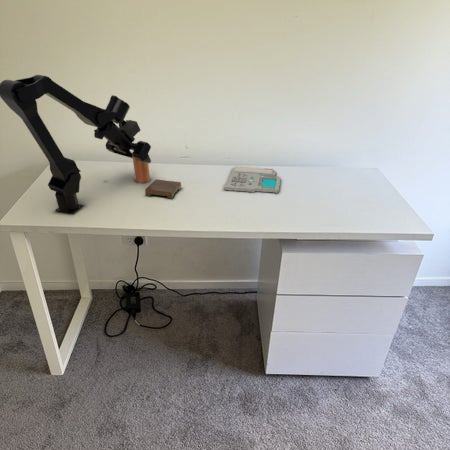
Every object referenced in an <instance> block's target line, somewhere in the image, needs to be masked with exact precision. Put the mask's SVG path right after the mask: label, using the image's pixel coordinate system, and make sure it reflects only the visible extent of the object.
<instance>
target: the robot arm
mask: <svg viewBox="0 0 450 450" xmlns="http://www.w3.org/2000/svg"><path fill="white" fill-rule="evenodd" d="M45 95H46V96H47V97H49V98H50V99H52V100H54V101H55V102H57V103H59V104H61V105H62V106H64V107H65V108H67V109H68V110H70V111H71V112H73V113H74V114H75V115H76V117H77V118H78V119H79V120H80V121H81V122H83V123H84V124H85V125H87V126H89V127H90V126H91V127H93V128H94V127H95V128H96V129H94V130H93V132H94V134H93V135H94V136H93V137H94V138H96V139H99V140H103V139H104V138H105V140H107V141H106V143H105V149H106V150H107V151H108V152H111V153H113V154H117V155H120V156H123V157H127V158H129V159H133V157H134V158H136V159H137V160H139V161H143V162H146V163H149V164H151V163H152V159H151V157H150V154H149V153H150V151H151V148H152V146H151V144H150V143H149V142H147V141H143V140H138V141H137V142H135V141H136V138H135V137H136V135H138V133H140V132H141V127H140V126H139V122H138V121H136V120H132V119H129V120H128V119H126V120H125V118H126V117H127V114H128V112H129V110H130V109H131V106H130V104H129V103H127V101H124V100H123V99H121V98H119V96H117V95H113V94H111V96H110V98H109V101H108V104H107V105H106V108H102V107H99V106H96V105H94V104H91V103H89V102H86V101H84V100H83V99H81V98H79V97H78V96H77V95H74V94H73V93H72V92H70V91H69V90H67V89H65V88H64V87H63V86H62V85H60V84H59V83H57V82H55V81H54V80H52V78H51V77H49V76H47V75H43V74H35V75H33V76H30V77H25V78H24V77H23V78H20V79H15V80H12V79H4V80H2V81H1V82H0V99H1V100H2V101H3V102H4V103H5V104H6V105H7V107H8V108H9V109H10V110H11V111H12V112H14V114H16V115H17V116H18V117H19V118H20V119H21V120H22V122H23V123H24V126H26V128H27V130H28V131H29V132H30V135H31V136H32V138H33V139H34V140H35V142H36V144H37V145H38V147H39V148H40V150H41V152H42V153H43V155H44V156H45V158H46V160H47V161H48V163H49V171H50V173H51V177H50V179H49V182H48V183H47V187H48V188H49V190H50V191H52V192H55V193H54V195H55V199H56V203H57V208H55V209H54V211H55V213H62V214H68V215H69V214H70V215H73V214H75V213H76V212H77V211H78V210H80V209H82V208H83V206H84V205H83V204H80V203H79V199H78V195H77V194H78V193H79V192H80V185H81V180H82V175H81V170H80V168H78V165H77V163H76V161H75V160H74V159H71V158H68V157H65V156H64V154H63V153H62V151H61V149H60V148H59V146H58V144H57V143H56V141H55V139H54V137H53V136H52V134H51V132H50V130H49V129H48V127H47V126H46V124H45V123H44V121H43V119H42V117H41V115H40V114H39V111H38V102H37V100H38V99H40V98H42V97H43V96H45ZM135 143H137V144H135ZM132 152H133V157H132Z"/></svg>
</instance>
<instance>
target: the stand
mask: <svg viewBox="0 0 450 450" xmlns="http://www.w3.org/2000/svg"><path fill="white" fill-rule="evenodd" d="M181 189H182V182H181V181H174V180H165V179H156V178H155V179H154V180H153V181H152V182H151V183H150V184H149V185H148V186H147V187H145V189H144V192H145V196H146V197H152V196H153V195H154V196H155V195H156V196H163V197H167V199H169V200H172V199H174V197H175V196H174V195H175V194H176V193H177V192H178V191H180V190H181Z"/></svg>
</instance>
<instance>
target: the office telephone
mask: <svg viewBox="0 0 450 450" xmlns="http://www.w3.org/2000/svg"><path fill="white" fill-rule="evenodd" d="M276 173H277V170H275V169H273V168H268V167H267V168H266V167H254V166H253V167H250V166H238V165H235V166H233V168H232V170H231V172H230V175H229V177H228V179H227V181H226V183H225V185H224V191H235V192H249V193H250V192H252V193H254V192H265V193H274V194H279V191H280V186H281V176H276Z"/></svg>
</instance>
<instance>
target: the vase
mask: <svg viewBox="0 0 450 450" xmlns="http://www.w3.org/2000/svg"><path fill="white" fill-rule="evenodd" d="M134 143H135V144H137V143H138V142H134ZM131 153H132V157H133V151H131ZM132 163H133V164H132V165H133V171H134V172H133V173H134V178H135V182H136V183H141V184H142V183H143V184H144V183H148V182H150V181H151V174H150V166H149V165H150V163H146V162H143V161H139V160H137V159H136V158H134V157H133V158H132Z"/></svg>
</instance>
